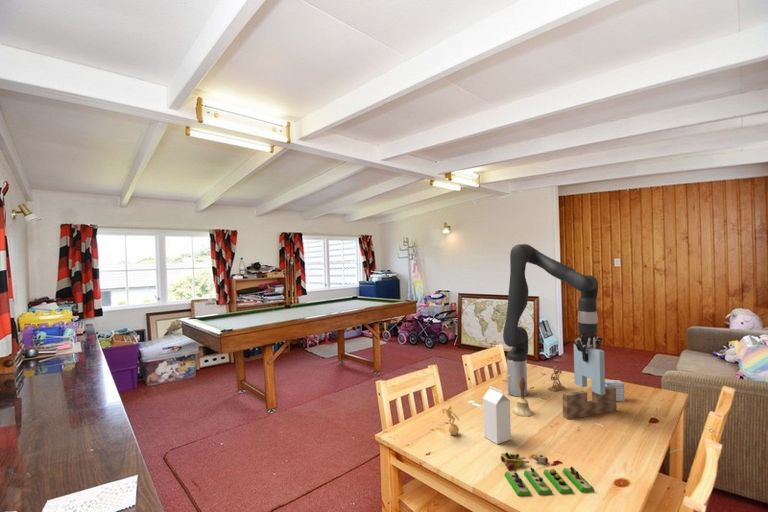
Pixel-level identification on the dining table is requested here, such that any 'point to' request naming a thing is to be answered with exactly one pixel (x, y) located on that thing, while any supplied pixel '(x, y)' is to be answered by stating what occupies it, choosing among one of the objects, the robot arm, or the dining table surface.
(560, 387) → the tan statuette
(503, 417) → the milk carton
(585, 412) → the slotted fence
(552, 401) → the dining table surface
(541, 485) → the toy garden set
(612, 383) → the medicine box
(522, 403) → the hand bell
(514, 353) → the robot arm
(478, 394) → the dining table surface
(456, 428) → the figurine
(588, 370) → the blue-gray tapered panel
